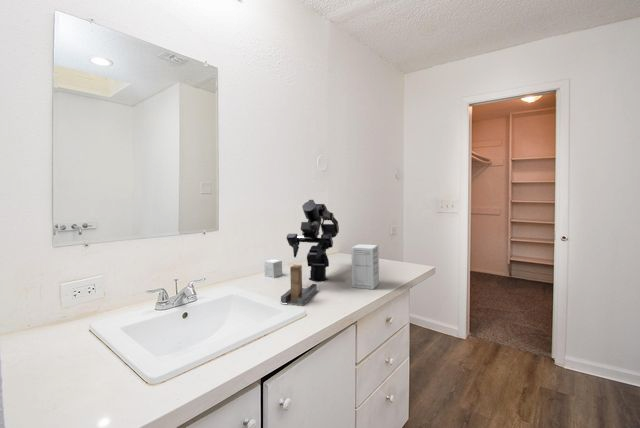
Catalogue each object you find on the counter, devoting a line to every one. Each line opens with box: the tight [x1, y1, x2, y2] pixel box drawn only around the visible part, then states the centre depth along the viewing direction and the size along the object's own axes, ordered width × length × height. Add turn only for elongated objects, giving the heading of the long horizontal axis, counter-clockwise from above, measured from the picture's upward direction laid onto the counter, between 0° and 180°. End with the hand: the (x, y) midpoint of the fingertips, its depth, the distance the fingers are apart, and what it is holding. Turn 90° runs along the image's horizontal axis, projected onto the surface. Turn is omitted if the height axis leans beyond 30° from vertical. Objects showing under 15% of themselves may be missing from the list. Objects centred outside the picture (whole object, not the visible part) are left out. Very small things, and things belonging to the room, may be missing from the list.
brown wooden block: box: [290, 264, 303, 301], centre depth 114 cm, size 4×3×12 cm, turn 165°
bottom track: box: [280, 283, 318, 306], centre depth 118 cm, size 18×8×3 cm, turn 165°
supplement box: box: [351, 243, 380, 290], centre depth 131 cm, size 10×9×17 cm
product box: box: [264, 258, 283, 279], centre depth 150 cm, size 6×6×7 cm
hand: (305, 257), depth 124 cm, fingers open, 9 cm apart
